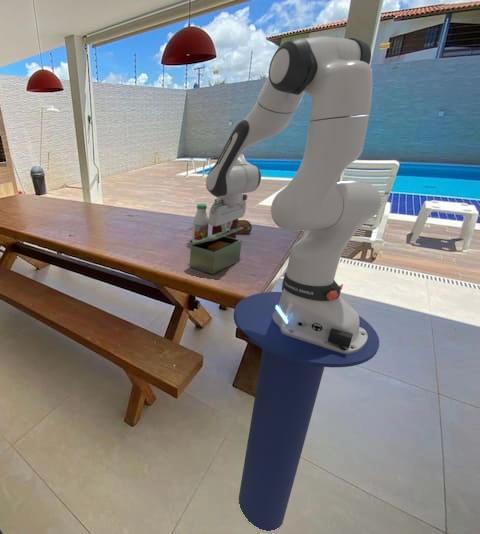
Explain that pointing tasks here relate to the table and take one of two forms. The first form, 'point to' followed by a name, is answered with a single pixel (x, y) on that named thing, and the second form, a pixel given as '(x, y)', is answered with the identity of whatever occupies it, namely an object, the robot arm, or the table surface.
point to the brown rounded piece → (244, 226)
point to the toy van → (217, 245)
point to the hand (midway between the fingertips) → (225, 232)
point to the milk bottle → (200, 223)
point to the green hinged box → (215, 255)
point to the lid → (216, 236)
